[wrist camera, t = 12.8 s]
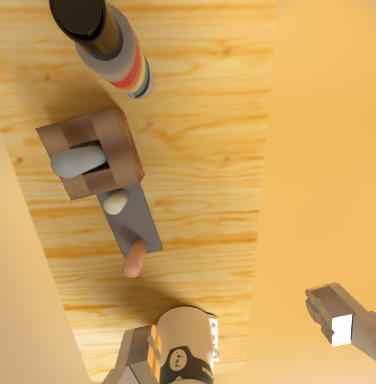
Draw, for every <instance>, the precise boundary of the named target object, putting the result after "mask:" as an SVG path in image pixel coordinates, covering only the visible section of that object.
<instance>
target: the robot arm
mask: <svg viewBox="0 0 376 384" xmlns="http://www.w3.org/2000/svg"><path fill="white" fill-rule="evenodd" d="M305 292H306V296H307V297H308V299H307V300H306V306H307V309H308V311H309V313H310V315H311V317H312V318H313V320H314V321H315V322H317V323H318V324H320V325H321V331H322V332H323V333H324V335H325V336H326V338H327V339H328V341H329V342H330V343H331V345H332V346H335V345H340V344H346V343H351V344H353V345H354V346H355V347H357V348H358V349H360V350H361V351H362V352H364V353H365V354H367V355H368V356H370V357H371V358H372V359H374V360H375V361H376V313H375V312H373V311H369V312H368V311H367V310H366V309H365V308H364V307H363V306H362V305H361V304H360V303H359V302H358V301H357V300H355V299H354V298H353V297H352V296H351V295H350V294H349V293H348V292H347V291H346V290H345V289H344V288H343V287H342V286H341V285H340V284H338V283H336V282H335V283H330V284H326V285H321V286H317V287H313V288H309V289H306V291H305ZM216 361H219V353H218V350H217V317H216V316H214V315H210V314H206V313H204V312H203V311H201V310H199V309H197V308H193V307H177V308H174V309H171V310H169V311H167V312H166V313H164V314H163V315H162V316H161V317H160V319H159V321H158V323H157V325H156V326H155V325H149V326H144V327H139V328H134V329H130V330H126V331H125V333H124V335H123V339H122V343H121V347H120V350H119V354H118V358H117V361H116V365H115V368H114V369H112V370H111V371H110V372H109V374H108V375H107V377H106V378H105V379H104V381H103V382H102V384H214V379H213V374H212V373H213V362H216Z"/></svg>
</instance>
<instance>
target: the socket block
mask: <svg viewBox="0 0 376 384" xmlns="http://www.w3.org/2000/svg"><path fill="white" fill-rule="evenodd" d="M36 130H37V132H38V135H39V137H40V139H41V141H42V143H43V145H44V147H45V149H46V151H47V153H48V155H49V157H50V159H51V158H52V156H53V155H54V154H55V153H57V152H60V151H65V150H71V149H77V148H82V147H88V144H89V143H92V142H96V141H100V144H101V146H102V149H103V151H104V154H105V156H106V159H107V161H108V164H109V166H105V167H101V168H97V167H95V168H93V169H90V170H88V171H86V172H84V173H81V174H79V175H77V176H75V177H72V178H63V177H60V176H59V177H60V179H61V181H62V183H63V185H64V187H65V189H66V191H67V193H68V195H69V197H70V199H71V201H72V200H76V199H80V198H84V197H88V196H91V195H95V194H99V193H103V192H107V191H111V190H115V189H119V188H123V187H127V186H131V185H135V184H139V182H140V181H141V180H142V178H143V177H144V176H145V174H144V171H143V168H142V165H141V162H140V159H139V156H138V153H137V150H136V147H135V144H134V141H133V138H132V135H131V132H130V129H129V126H128V123H127V120H126V117H125V114H124V112H123V111H120V110H117V109H114V108H110V109H106V110H103V111H99V112H95V113H91V114H88V115H84V116H80V117H77V118H73V119H69V120H66V121H62V122H58V123H54V124H51V125H47V126H43V127H40V128H36Z"/></svg>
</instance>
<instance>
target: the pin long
mask: <svg viewBox="0 0 376 384" xmlns="http://www.w3.org/2000/svg"><path fill="white" fill-rule="evenodd" d="M106 162H108V161H107V159H106V156H105V154H104V151H103V149H102V146H101V144H99V145H93V146H88V147H82V148H77V149H71V150H65V151H60V152H57V153H55V154H54V155H53V156H52V158H51V167H52V169H53V171H54V172H55V173H56V174H57V175H59V176H60V177H63V178H72V177H75V176H77V175H79V174H81V173H84V172H86V171H88V170H90V169H93V168H95V167H97V166H99V165H102V164H104V163H106Z"/></svg>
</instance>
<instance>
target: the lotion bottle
mask: <svg viewBox="0 0 376 384" xmlns="http://www.w3.org/2000/svg"><path fill="white" fill-rule="evenodd" d="M49 4H50V9H51V13H52V15H53V18H54V20H55V21H56V23H57V25H58V26H59V28H60V29H61V30H62V31H63V32H64V33H65V34H66V35H67V36H68V37H69V38H70V39H71V40H73V41H74V43H75V47H76V49H77V52H78V54H79V56H80V57H81V59H82V60H83V61H84V63H85V64H86V65H87V66H88V67H89V68H91V69H92V70H93V71H94V72H96V73H97V74H99V75H100V76H101V77H103V78H104V79H106V80H107V81H108V82H110V83H111V84H113V85H114V86H116V87H117V88H118V89H120V90H121V91H123V92H124V93H126V94H127V95H129V96H130V97H132V98H135V99H142V98H145V97H147V96H148V95H149V94H150V93H151V91H152V89H153V86H154V78H153V74H152V71H151V69H150V67H149V64H148V62H147V60H146V58H145V56H144V53H143V51H142V49H141V47H140V44H139V42H138V40H137V38H136V36H135V33H134V31H133V29H132V27H131V25H130V23H129V22H128V20H127V19H126V17H125V16H124V15H123V14H122V13H121V12H120V11H119V10H118V9H117V8H115V7H114V6H112V5H110V4H107V2H106V1H105V0H49Z"/></svg>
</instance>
